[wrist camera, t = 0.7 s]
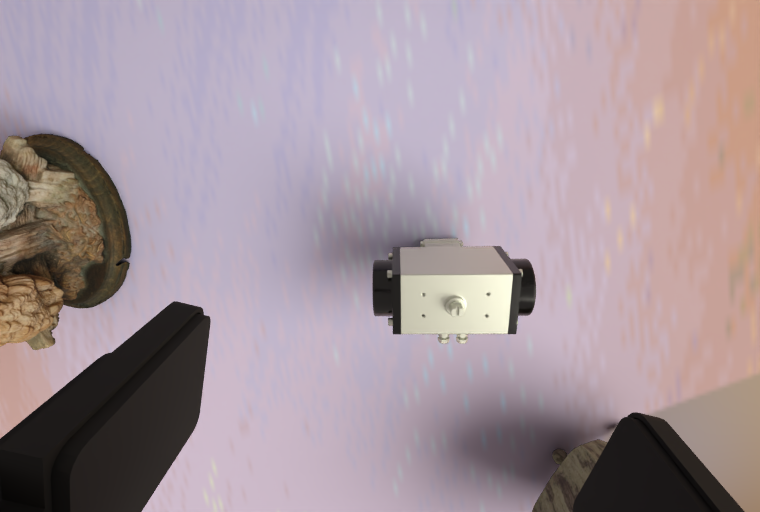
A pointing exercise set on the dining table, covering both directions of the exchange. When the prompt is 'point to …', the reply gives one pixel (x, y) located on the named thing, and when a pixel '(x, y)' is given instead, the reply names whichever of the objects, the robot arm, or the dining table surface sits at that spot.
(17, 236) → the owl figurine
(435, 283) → the pneumatic valve
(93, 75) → the dining table surface
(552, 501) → the tabletop clock
